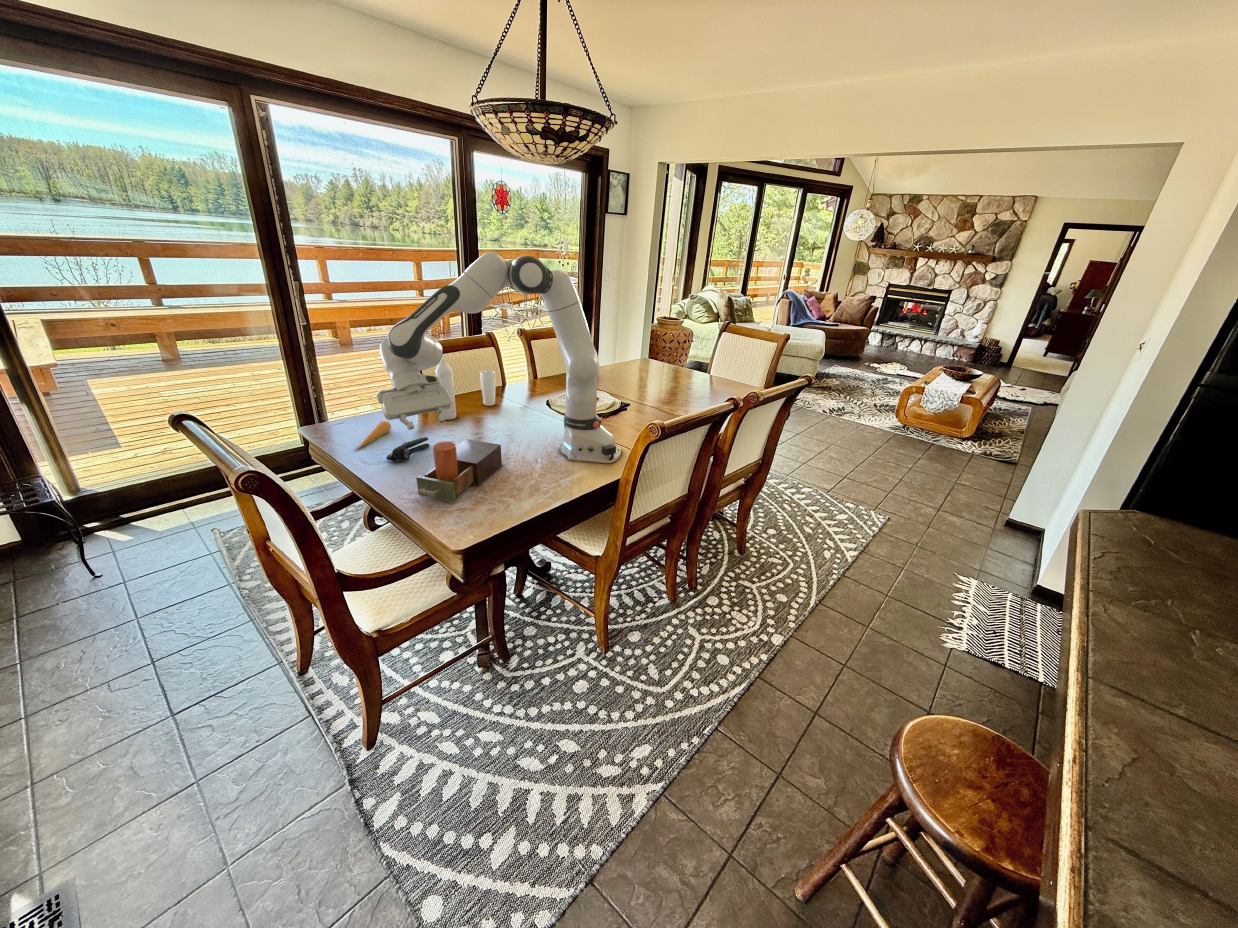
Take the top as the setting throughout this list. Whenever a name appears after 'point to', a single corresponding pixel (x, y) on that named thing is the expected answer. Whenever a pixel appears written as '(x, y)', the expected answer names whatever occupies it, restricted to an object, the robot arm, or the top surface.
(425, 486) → the drawer
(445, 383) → the water bottle
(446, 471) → the terracotta cylinder
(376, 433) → the carrot
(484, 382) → the drinking glass
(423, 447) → the can opener
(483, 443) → the cabinet
